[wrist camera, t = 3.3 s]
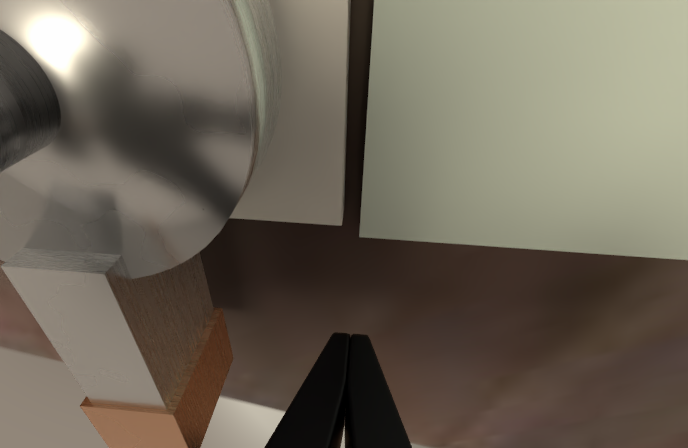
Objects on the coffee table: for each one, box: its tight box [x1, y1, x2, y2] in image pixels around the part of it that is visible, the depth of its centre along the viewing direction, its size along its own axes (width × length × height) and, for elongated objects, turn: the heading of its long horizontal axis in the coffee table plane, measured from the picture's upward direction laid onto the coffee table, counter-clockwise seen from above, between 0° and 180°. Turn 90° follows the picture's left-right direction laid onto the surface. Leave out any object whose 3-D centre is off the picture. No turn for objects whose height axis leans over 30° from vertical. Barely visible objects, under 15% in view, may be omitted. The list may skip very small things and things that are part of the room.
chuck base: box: [229, 0, 351, 226], centre depth 8 cm, size 9×9×2 cm
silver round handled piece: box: [0, 0, 282, 448], centre depth 7 cm, size 13×7×5 cm, turn 178°
